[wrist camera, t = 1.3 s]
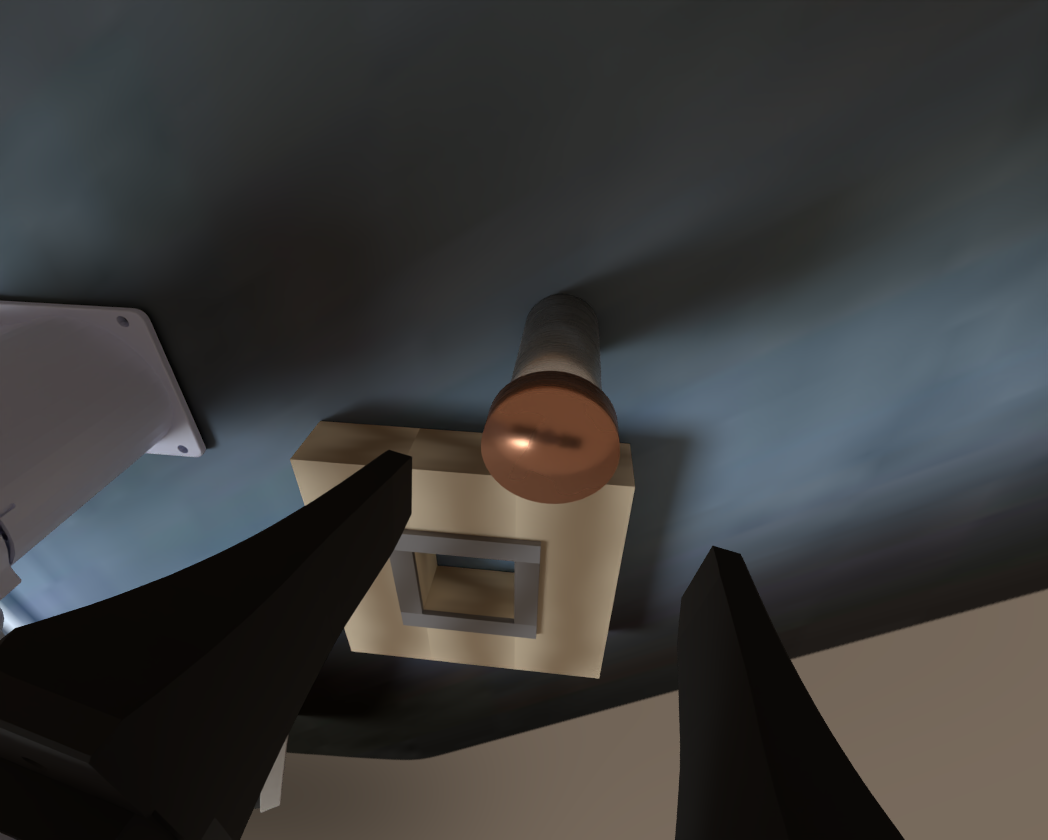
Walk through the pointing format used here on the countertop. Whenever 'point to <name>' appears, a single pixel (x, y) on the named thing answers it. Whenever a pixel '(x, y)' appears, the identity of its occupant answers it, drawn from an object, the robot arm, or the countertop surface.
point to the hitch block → (480, 556)
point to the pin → (554, 410)
